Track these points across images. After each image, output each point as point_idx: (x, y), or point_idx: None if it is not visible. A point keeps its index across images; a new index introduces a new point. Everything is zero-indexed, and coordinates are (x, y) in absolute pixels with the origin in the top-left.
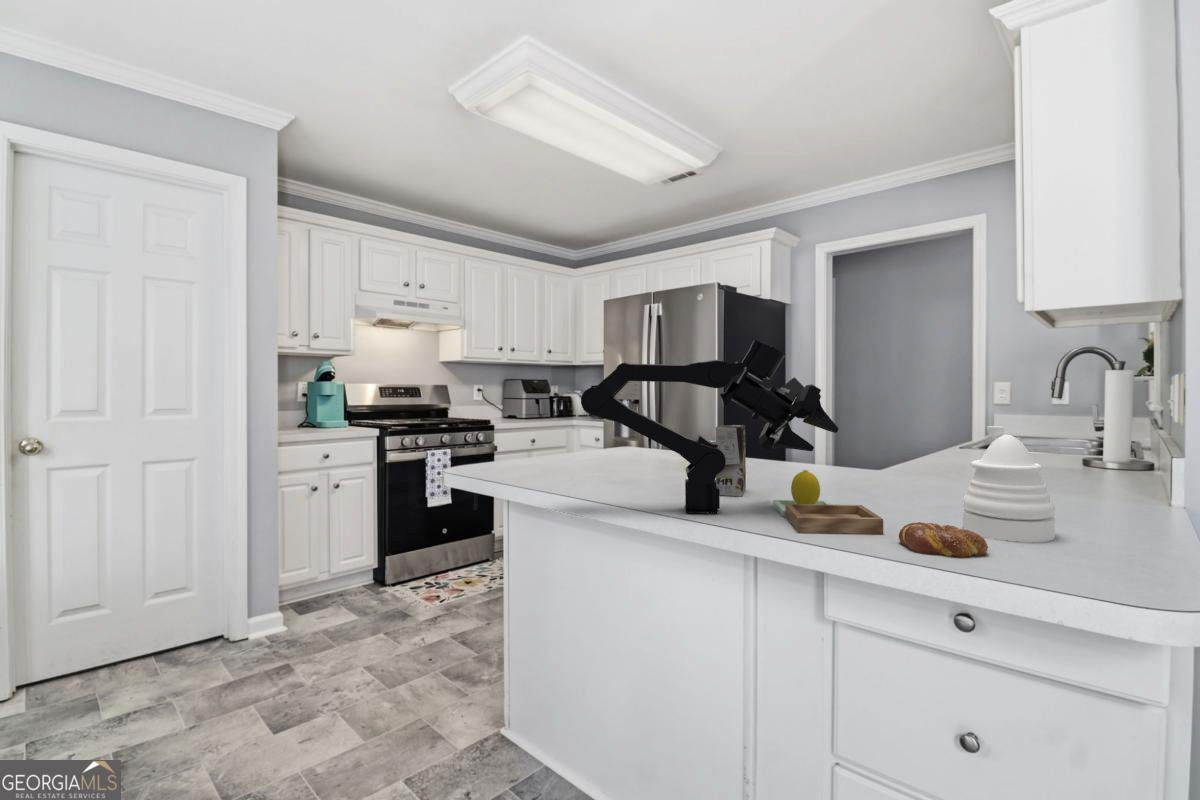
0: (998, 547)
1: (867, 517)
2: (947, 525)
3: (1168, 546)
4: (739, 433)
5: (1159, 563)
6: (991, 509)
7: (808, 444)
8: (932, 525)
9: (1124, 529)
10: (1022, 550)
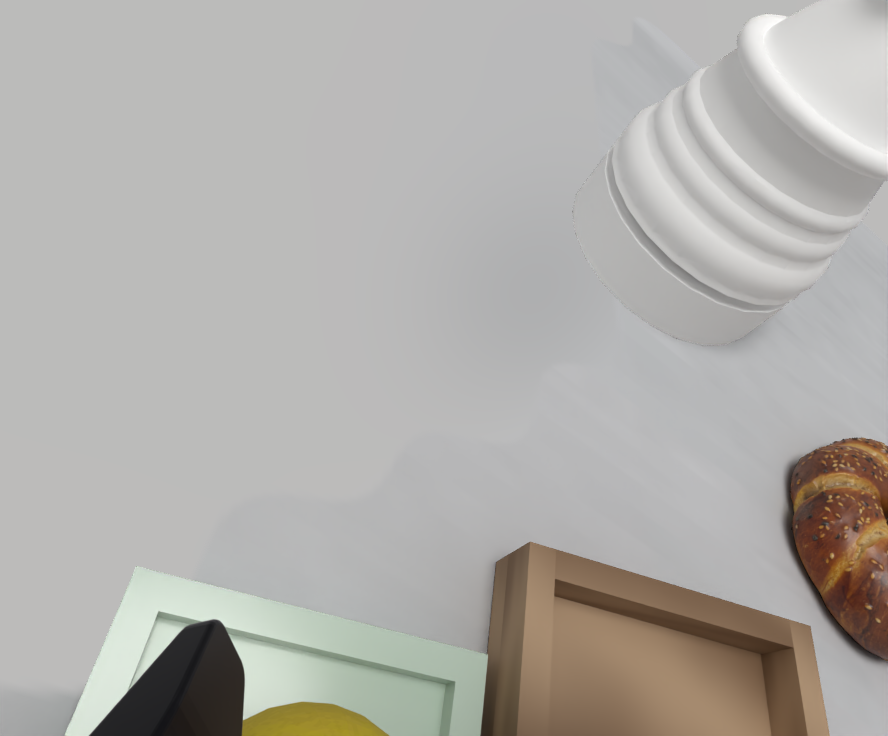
0: (819, 394)
1: (684, 625)
2: (865, 470)
3: None
4: None
5: None
6: (807, 288)
7: (196, 716)
8: (884, 520)
9: (610, 43)
10: (830, 365)
